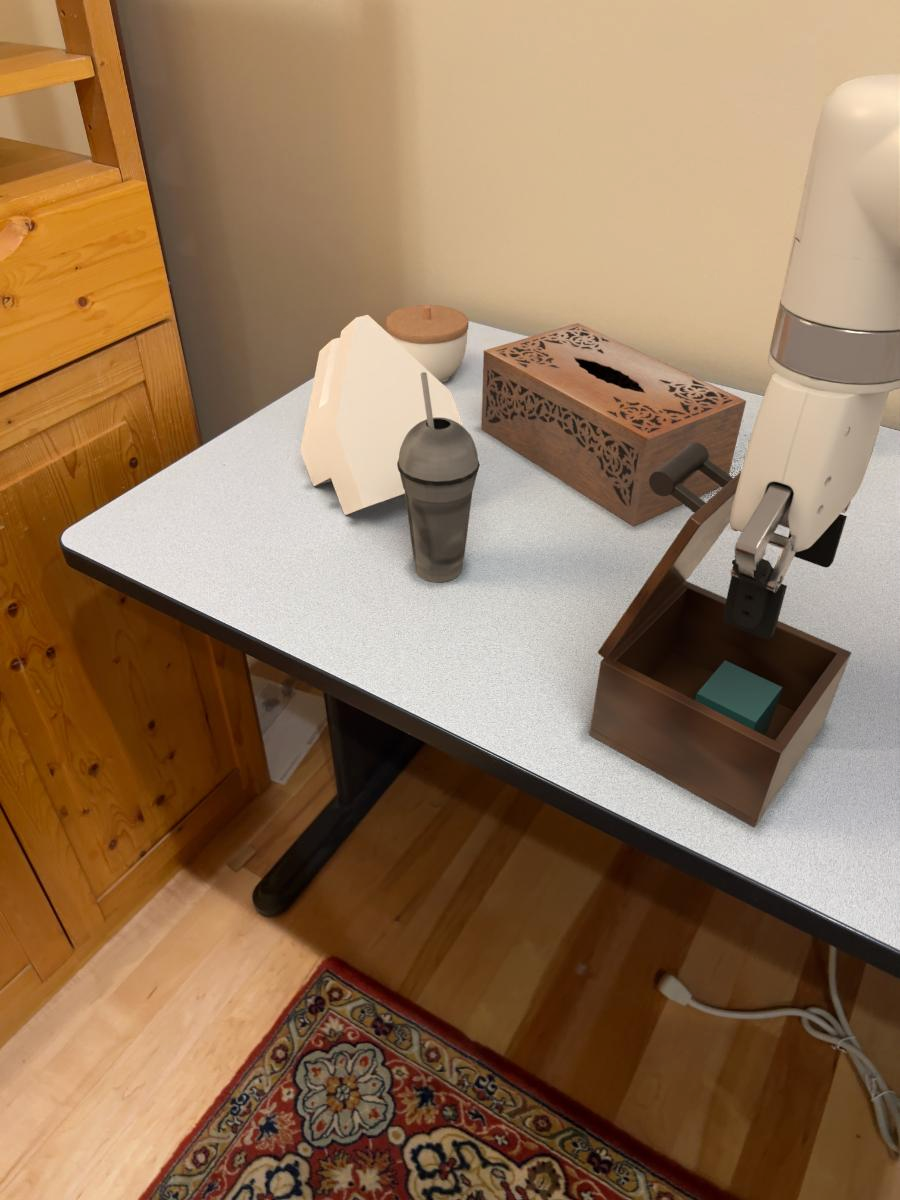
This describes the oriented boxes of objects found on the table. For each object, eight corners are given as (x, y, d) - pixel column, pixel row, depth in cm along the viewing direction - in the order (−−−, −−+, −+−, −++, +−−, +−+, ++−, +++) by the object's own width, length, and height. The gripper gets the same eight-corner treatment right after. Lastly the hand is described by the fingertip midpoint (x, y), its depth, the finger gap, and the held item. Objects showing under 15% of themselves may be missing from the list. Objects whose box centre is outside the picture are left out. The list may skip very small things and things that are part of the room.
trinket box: (371, 377, 118) (367, 308, 112) (424, 352, 125) (423, 286, 119) (431, 400, 113) (431, 329, 107) (483, 373, 119) (485, 305, 113)
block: (713, 702, 70) (724, 659, 67) (768, 730, 68) (782, 687, 65) (685, 735, 67) (696, 692, 64) (742, 765, 65) (756, 722, 62)
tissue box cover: (726, 484, 97) (746, 400, 91) (633, 526, 91) (647, 439, 84) (570, 398, 114) (577, 322, 107) (481, 429, 107) (483, 350, 101)
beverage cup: (476, 592, 82) (482, 393, 69) (398, 591, 82) (390, 392, 70) (476, 547, 88) (482, 355, 75) (403, 545, 88) (396, 354, 75)
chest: (823, 725, 69) (852, 652, 64) (754, 828, 62) (781, 753, 57) (668, 651, 76) (683, 579, 71) (588, 735, 68) (600, 661, 63)
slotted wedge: (431, 485, 103) (378, 336, 101) (477, 467, 93) (419, 302, 91) (326, 522, 97) (268, 364, 95) (364, 507, 87) (299, 331, 85)
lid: (786, 445, 60) (726, 402, 61) (700, 525, 52) (634, 474, 53) (688, 578, 71) (639, 539, 72) (605, 660, 63) (552, 615, 64)
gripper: (835, 285, 55) (777, 518, 65) (708, 375, 45) (664, 636, 55) (963, 310, 51) (881, 554, 62) (858, 415, 41) (780, 687, 51)
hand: (779, 592), depth 58 cm, fingers open, 9 cm apart
